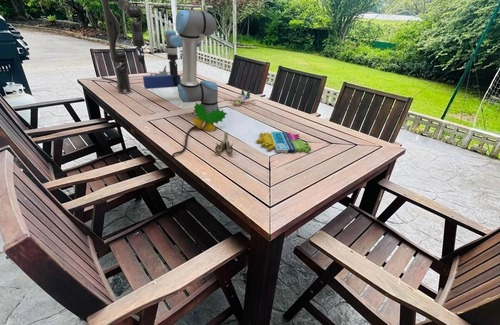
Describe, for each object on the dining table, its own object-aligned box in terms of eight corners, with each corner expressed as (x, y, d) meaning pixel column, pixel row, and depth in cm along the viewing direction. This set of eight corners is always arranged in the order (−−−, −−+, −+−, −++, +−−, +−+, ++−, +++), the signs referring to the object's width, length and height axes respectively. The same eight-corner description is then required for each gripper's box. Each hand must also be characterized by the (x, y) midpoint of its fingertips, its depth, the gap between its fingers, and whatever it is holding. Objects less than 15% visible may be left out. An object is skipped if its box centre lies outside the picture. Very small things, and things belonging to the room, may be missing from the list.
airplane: (141, 75, 284) (140, 65, 279) (171, 73, 297) (170, 64, 292) (147, 84, 255) (146, 73, 250) (179, 82, 269) (178, 72, 264)
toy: (261, 91, 228) (254, 99, 202) (261, 99, 231) (253, 108, 205) (231, 87, 233) (220, 95, 207) (230, 95, 236) (219, 104, 210)
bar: (179, 85, 210) (178, 74, 206) (181, 86, 206) (180, 75, 202) (144, 87, 197) (142, 75, 193) (145, 88, 194) (144, 77, 189)
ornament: (218, 133, 171) (224, 110, 169) (221, 134, 163) (227, 111, 161) (186, 125, 162) (192, 101, 160) (189, 126, 155) (195, 101, 153)
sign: (313, 150, 142) (258, 149, 139) (312, 153, 143) (258, 152, 140) (301, 132, 164) (254, 130, 161) (301, 134, 165) (254, 133, 162)
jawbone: (234, 135, 144) (233, 125, 135) (233, 160, 138) (232, 151, 129) (217, 135, 144) (216, 125, 135) (216, 160, 138) (214, 150, 129)
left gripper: (130, 38, 189) (134, 61, 197) (134, 39, 179) (138, 64, 186) (141, 38, 193) (145, 61, 200) (145, 39, 182) (149, 64, 190)
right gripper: (163, 52, 199) (166, 83, 211) (170, 55, 186) (173, 88, 197) (173, 52, 203) (176, 82, 214) (181, 55, 189) (183, 87, 201)
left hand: (141, 62), depth 193 cm, fingers open, 8 cm apart
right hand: (174, 85), depth 206 cm, fingers closed on bar, 5 cm apart
